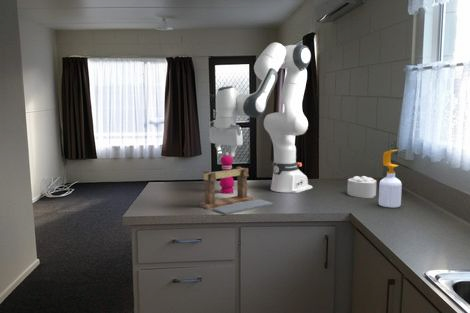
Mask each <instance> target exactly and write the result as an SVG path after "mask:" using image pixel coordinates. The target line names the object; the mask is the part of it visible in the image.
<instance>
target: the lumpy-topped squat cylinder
mask: <svg viewBox="0 0 470 313" xmlns="http://www.w3.org/2000/svg"><path fill="white" fill-rule="evenodd" d="M346 190H347V195H349V196H352V197H356V198H363V199H364V198H365V199H366V198H367V199H374V198H375V197H376V196H377V179H374V178H373V177H370V176H369V177H368V176H365V175H362V176H358V175H355V176H353V177H351V178H348V179H347V189H346Z"/></svg>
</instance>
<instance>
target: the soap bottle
mask: <svg viewBox="0 0 470 313" xmlns="http://www.w3.org/2000/svg"><path fill="white" fill-rule="evenodd" d="M397 151H398V149H390V150H387V151H385V152H384V153H383V156H382V164H383V166H385V167H387V168H388V170H387V171H386V176H385V177H384V178H382V179H381V180H380V181H379V185H378V186H379V189H378V205H379V206H380V207H384V208H388V209H389V208H390V209H391V208H395V209H396V208H399V207H401V205H402V204H401V203H402V190H403V189H402V186H403V184H402V181H401V180H400V179H399V178H397V177H396V171H394V169H395V168H397V167H399V165H398V164H393V163H391V156H392V153H393V152H397Z"/></svg>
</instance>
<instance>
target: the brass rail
mask: <svg viewBox="0 0 470 313" xmlns="http://www.w3.org/2000/svg"><path fill="white" fill-rule="evenodd" d="M244 168H245V167H241V168H240V169H236V168H231V170H225V171H223V170H220V171H212V172H211V171H210V172H209V173H204V179H205V180H210V173H216V180H217V179H219V180H220V179H221V178H226V177H237V176H239V175H243V169H244ZM205 180H204V181H205Z"/></svg>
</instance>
